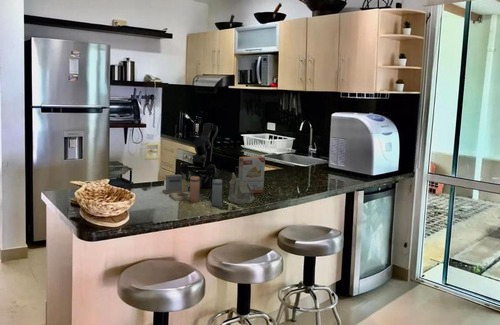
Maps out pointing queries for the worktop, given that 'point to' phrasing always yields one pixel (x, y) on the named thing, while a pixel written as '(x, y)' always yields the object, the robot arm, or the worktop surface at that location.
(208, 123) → the robot arm
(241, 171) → the cracker box
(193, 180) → the terracotta cartridge
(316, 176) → the worktop surface
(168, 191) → the service housing
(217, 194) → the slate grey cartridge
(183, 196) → the birch dock plate
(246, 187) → the ceramic cottage
